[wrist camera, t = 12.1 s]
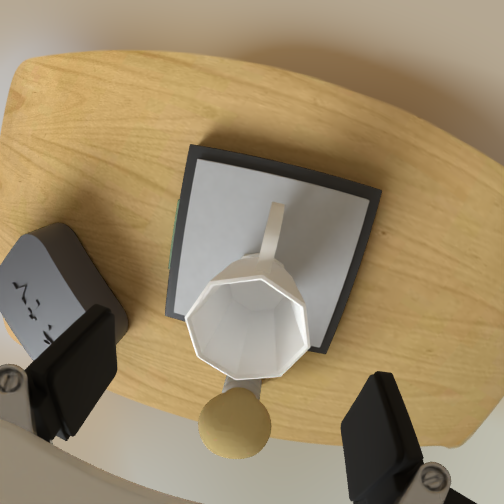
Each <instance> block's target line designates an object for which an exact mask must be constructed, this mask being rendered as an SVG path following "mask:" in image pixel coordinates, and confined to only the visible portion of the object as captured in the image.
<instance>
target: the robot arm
mask: <svg viewBox="0 0 504 504" xmlns="http://www.w3.org/2000/svg"><path fill="white" fill-rule="evenodd" d="M116 372H117V356H116V339H115V316H114V314H113V313H111V309H110V308H108V307H105V306H102V305H99V304H94V305H93V306H92V307H91V308H90V309H88V310H87V311H86V312H85V313H84V314H83V315H82V316H81V317H80V318H78V319H77V320H76V321H75V322H74V323H73V324H72V325H71V326H70V327H69V328H68V329H67V330H65V331H64V332H63V333H62V334H61V335H60V336H59V337H58V338H57V339H56V340H55V341H54V342H53V343H52V344H51V345H50V346H49V347H48V348H47V349H45V350H44V351H43V352H42V353H41V354H40V355H39V356H38V357H37V358H36V359H35V360H34V361H33V362H32V363H31V364H30V365H29V366H28V367H27V368H26V369H25V370H23V369H22V368H21V367H19V366H17V365H14V364H5V365H1V366H0V504H202V503H197V502H193V501H189V500H186V499H182V498H179V497H175V496H172V495H168V494H165V493H162V492H158V491H156V490H153V489H150V488H146V487H144V486H141V485H138V484H136V483H133V482H130V481H128V480H125V479H123V478H120V477H118V476H115V475H113V474H111V473H108V472H106V471H104V470H102V469H99V468H97V467H95V466H93V465H91V464H89V463H87V462H85V461H83V460H81V459H79V458H77V457H74V456H73V455H70V454H69V453H67V452H65V451H63V450H61V449H59V448H58V447H56V446H54V445H53V443H52V440H53V439H54V437H55V436H58V437H60V438H62V439H63V440H65V441H67V440H68V439H69V437H70V436H75V435H76V433H77V432H78V430H79V429H80V427H81V426H82V424H83V423H84V421H85V420H86V418H87V417H88V415H89V414H90V412H91V411H92V409H93V408H94V406H95V405H96V403H97V402H98V400H99V399H100V397H101V396H102V394H103V393H104V391H105V390H106V389H107V387H108V386H109V384H110V383H111V381H112V380H113V378H114V377H115V375H116ZM341 435H342V442H343V449H344V457H345V465H346V473H347V482H348V489H349V498H350V500H351V501H353V504H477V503H475V502H473V501H472V500H470V499H468V498H466V497H465V496H463V495H462V494H460V493H458V492H456V491H455V490H453V489H452V488H450V485H451V476H450V474H449V472H448V470H447V469H446V468H445V467H444V466H442V465H441V464H439V463H436V462H428V463H425V464H424V462H423V455H422V451H421V448H420V445H419V443H418V440H417V437H416V434H415V431H414V428H413V426H412V423H411V420H410V417H409V415H408V412H407V409H406V407H405V404H404V402H403V399H402V396H401V394H400V391H399V389H398V386H397V384H396V381H395V379H394V376H393V374H392V373H389V372H380V371H377V372H375V373H374V375H370V376H369V378H368V380H367V381H366V383H365V385H364V387H363V388H362V390H361V392H360V393H359V395H358V397H357V398H356V400H355V402H354V403H353V405H352V406H351V408H350V410H349V411H348V413H347V414H346V416H345V417H344V419H343V421H342V423H341Z"/></svg>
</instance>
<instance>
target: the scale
mask: <svg viewBox="0 0 504 504" xmlns="http://www.w3.org/2000/svg"><path fill="white" fill-rule="evenodd" d="M381 193H382V190H380V189H376V188H373V187H370V186H367V185H364V184H360V183H357V182H354V181H350V180H347V179H343V178H340V177H336V176H333V175H329V174H326V173H322V172H318V171H315V170H311V169H307V168H303V167H299V166H295V165H291V164H287V163H283V162H278V161H274V160H270V159H265V158H261V157H256V156H251V155H247V154H242V153H237V152H232V151H226V150H221V149H216V148H210V147H205V146H199V145H193V144H190V147H189V152H188V157H187V162H186V167H185V172H184V178H183V183H182V189H181V195H180V199H179V200H178V203H177V209H176V216H175V222H174V229H173V236H172V243H171V251H170V259H169V267H168V268H169V269H170V271H169V280H168V289H167V298H166V308H165V316H168V317H171V318H175V319H178V320H182V321H185V316H186V314H187V313H188V312H189V310H190V309H191V307H192V306H193V304H194V303H195V301H196V300H197V299H198V297H199V296H200V294H201V293H202V291H203V290H204V289H205V287H206V286H207V284H208V283H209V281H211V280H212V279H213V278H214V277H215V276H216V275H218V274H219V273H220V272H222V271H223V270H224V269H225V268H226V267H227V266H229V265H230V264H231V263H232V262H234V261H237V260H239V259H241V258H242V257H243V255H247V254H254V253H260V250H261V246H262V242H263V237H264V233H265V229H266V225H267V221H268V217H269V213H270V209H271V205H272V201H273V202H277V203H281V204H285V206H284V214H283V220H282V225H281V230H280V235H279V239H278V243H277V248H276V252H275V256H274V258H275V259H277V260H278V261H279V262H281V263H282V264H284V269H285V270H286V271H287V272H288V273H289V274H290V275H291V276H292V278H293V280H294V282H295V284H296V286H297V288H298V290H299V292H300V294H301V295H302V298H303V300H304V302H305V304H306V310H307V319H308V328H309V338H310V348H309V349H308V350H307V351H311V352H316V353H322V354H326V353H327V351H328V348H329V346H330V343H331V341H332V339H333V336H334V334H335V331H336V329H337V326H338V324H339V321H340V319H341V316H342V314H343V311H344V308H345V306H346V303H347V300H348V298H349V295H350V292H351V289H352V287H353V284H354V281H355V278H356V275H357V272H358V269H359V266H360V263H361V260H362V257H363V254H364V251H365V248H366V245H367V242H368V239H369V235H370V232H371V229H372V225H373V222H374V219H375V215H376V212H377V208H378V204H379V201H380V197H381ZM185 322H186V321H185Z"/></svg>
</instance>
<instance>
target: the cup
mask: <svg viewBox="0 0 504 504" xmlns="http://www.w3.org/2000/svg"><path fill="white" fill-rule="evenodd" d="M284 206H285V204H281V203H277V202H273V201H272V205H271V209H270V213H269V217H268V221H267V225H266V229H265V233H264V237H263V242H262V246H261V250H260V253H254V254H247V255H243V257H242V258H241V259H239V260H237V261H234V262H232V263H231V264H230V265H229V266H227V267H226V268H225V269H224V270H223V271H222V272H220V273H219V274H218V275H216V276H215V277H214V278H213V279H212V280H211V281H209V283H208V284H207V286H206V287H205V289H204V290H203V291H202V293H201V294H200V296H199V297H198V299H197V300H196V301H195V303H194V304H193V306H192V307H191V309H190V310H189V312H188V313H187V314H186V316H185V321H186V324H187V327H188V330H189V334H190V337H191V340H192V343H193V346H194V349H195V352H196V355H197V357H198V358H200V359H201V360H203V361H204V362H206V363H208V364H209V365H211V366H213V367H214V368H216V369H217V370H219V371H221V372H223V373H224V374H226V375H228V376H229V377H231V378H233V379H235V380H245V379H260V378H272V377H281V376H282V375H283V374H284V373H285V372H286V371H287V370H288V369H289V368H290V367H291V366H292V365H293V364H294V363H295V362H296V361H297V360H298V359H299V358H300V357H301V356H302V355H303V354H304V353H305V352H306V351H307V350H308V349H309V348H310V338H309V328H308V319H307V310H306V304H305V302H304V300H303V298H302V295H301V294H300V292H299V290H298V288H297V286H296V284H295V282H294V280H293V278H292V276H291V275H290V274H289V273H288V272H287V271H286V270H285V269H284V264H282V263H281V262H279V261H278V260H277V259H275V258H274V256H275V252H276V248H277V243H278V239H279V235H280V230H281V225H282V220H283V214H284Z"/></svg>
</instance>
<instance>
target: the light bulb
mask: <svg viewBox="0 0 504 504" xmlns="http://www.w3.org/2000/svg"><path fill="white" fill-rule="evenodd" d="M261 384H262V383H261V379H245V380H235V379H233V378H231V377H229V376H228V375H227V376H226V380H225V383H224V387H223V390H222V394H220V395H218V396H216V397H214V398H213V399H211V400H210V401H209V402H208V403H207V404H206V405H205V406H204V408H203V410H202V411H201V413H200V416H199V422H198V426H199V433H200V437H201V439H202V441H203V443H204V444H205V445H206V447H207V448H208V449H209V450H210V451H211V452H213V453H214V454H216V455H219V456H221V457H225V458H230V459H244V458H248V457H252V456H254V455H256V454H257V453H258V452H260V451H261V450H262V449H263V447H264V446H265V445H266V443H267V441H268V439H269V437H270V433H271V419H270V415H269V413H268V411H267V409H266V408H265V406H264V405H263V404H262V403H261V402H260V401H259V400H260V392H261Z"/></svg>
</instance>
